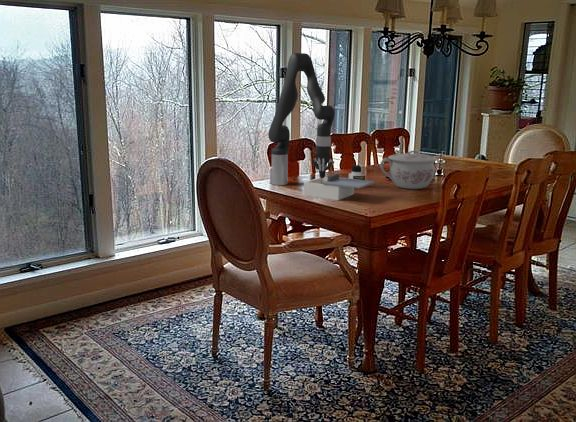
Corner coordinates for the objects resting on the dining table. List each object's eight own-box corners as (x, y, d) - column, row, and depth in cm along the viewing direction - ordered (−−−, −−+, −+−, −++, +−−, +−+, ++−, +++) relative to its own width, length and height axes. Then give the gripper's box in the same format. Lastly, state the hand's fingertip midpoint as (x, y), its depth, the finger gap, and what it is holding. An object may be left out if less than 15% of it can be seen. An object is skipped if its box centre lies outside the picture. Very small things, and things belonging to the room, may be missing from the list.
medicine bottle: (352, 188, 309) (353, 166, 306) (348, 185, 316) (348, 164, 313) (364, 187, 311) (365, 166, 308) (359, 185, 318) (360, 164, 315)
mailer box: (303, 195, 288) (303, 182, 286) (320, 189, 303) (320, 177, 301) (338, 200, 278) (338, 186, 276) (353, 194, 293) (354, 181, 291)
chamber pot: (444, 187, 314) (447, 150, 309) (420, 194, 294) (423, 155, 289) (401, 180, 332) (403, 146, 327) (376, 187, 312) (377, 150, 307)
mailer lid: (322, 184, 281) (322, 177, 280) (339, 178, 296) (339, 172, 295) (359, 188, 270) (359, 181, 269) (374, 182, 285) (375, 176, 284)
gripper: (308, 144, 287) (307, 177, 291) (331, 146, 280) (330, 180, 284) (315, 143, 293) (314, 175, 297) (338, 145, 286) (336, 178, 291)
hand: (322, 177), depth 291 cm, fingers closed
